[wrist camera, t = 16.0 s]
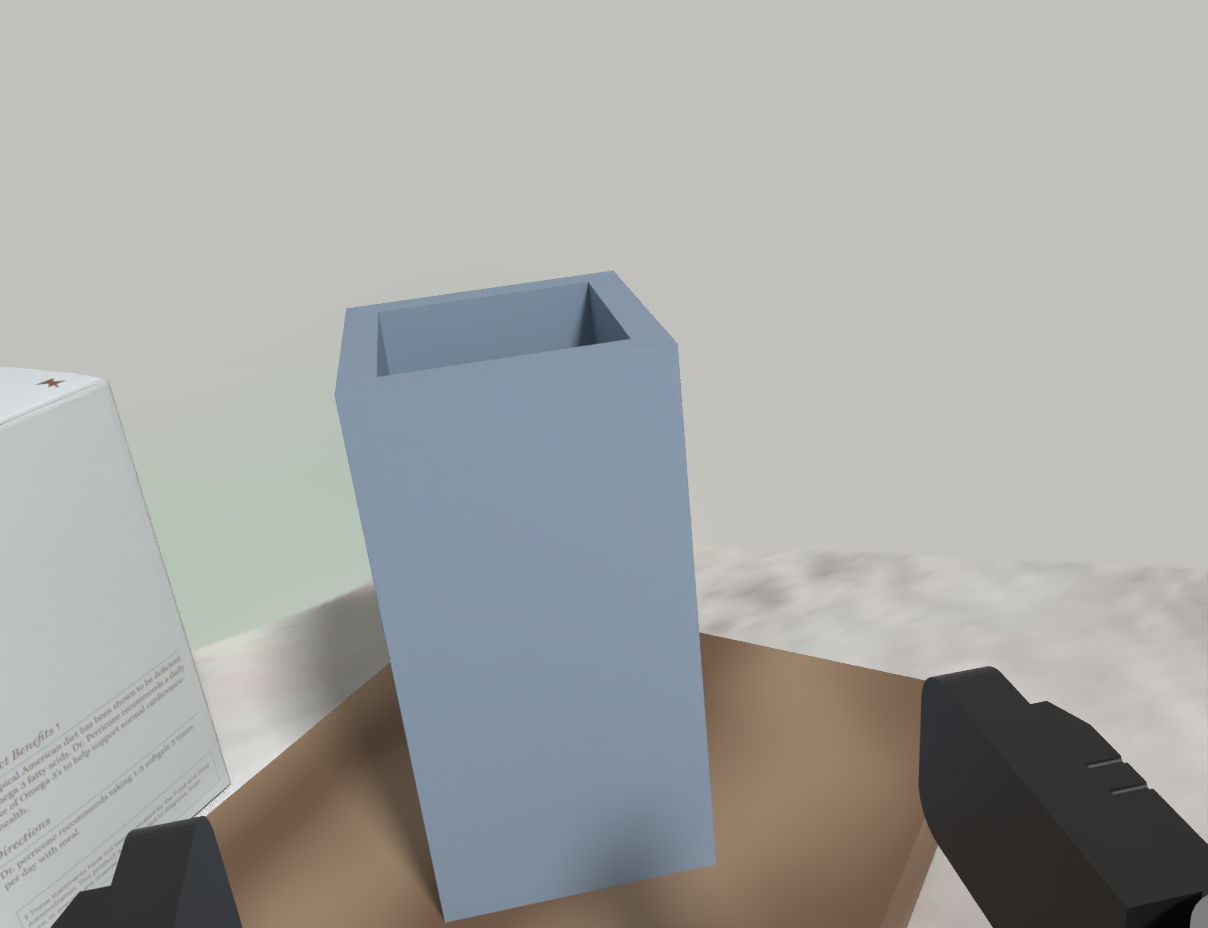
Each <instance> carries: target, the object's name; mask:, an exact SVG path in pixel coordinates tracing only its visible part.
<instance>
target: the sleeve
mask: <svg viewBox="0 0 1208 928" xmlns="http://www.w3.org/2000/svg"><path fill="white" fill-rule="evenodd" d="M678 356H679V355H678V344H677V343H676V341H675V340H674V339H673V338H672V337H671V336H670V335H669V333H668V332H667V331H666V330H665V329H664V328H663V327H662V326H661V324H660V323H659V322H658V321H657V320H656V319H655V318H654V316H653V315H652V314H651V313H650V312H649V311H648V310H647V308H646V307H645V306H644V305H643V304H642V303H641V302H640V300H639V299H638V298H637V297H636V296H635V295H634V294H633V293H632V291H631V290H630V289H629V288H628V287H627V286H626V285H625V283H624V282H623V281H622V280H621V279H620V278H619V277H618V275H617V274H616V273H615V272H614V271H609V272H601V273H594V274H587V275H580V276H572V277H565V278H558V279H551V280H544V281H537V282H530V283H523V284H516V285H509V286H502V287H495V288H488V289H481V290H474V291H467V292H459V293H453V294H445V295H438V296H432V297H425V298H417V299H410V300H403V301H396V302H389V303H382V304H375V305H368V306H361V307H354V308H347V309H346V315H345V323H344V330H343V338H342V345H341V352H340V360H339V368H338V376H337V383H336V390H335V400H336V405H337V409H338V414H339V419H340V424H341V428H342V433H343V438H344V443H345V448H346V452H347V457H348V461H349V467H350V471H351V476H352V481H353V486H354V490H355V495H356V500H357V505H358V509H359V514H360V519H361V524H362V528H363V534H364V538H365V542H366V548H367V553H368V557H369V562H370V566H371V571H372V576H373V581H374V586H375V591H376V596H377V600H378V605H379V610H380V615H381V619H382V624H383V629H384V634H385V639H386V643H387V648H388V653H389V658H390V662H391V667H392V672H393V677H394V681H395V686H396V691H397V696H398V701H399V705H400V710H401V715H402V720H403V724H404V729H405V734H406V739H407V744H408V748H409V753H410V758H411V763H412V767H413V772H414V777H415V782H416V787H417V791H418V796H419V801H420V806H421V810H422V815H423V820H424V825H425V829H426V834H427V839H428V844H429V849H430V853H431V858H432V863H433V868H434V872H435V877H436V882H437V887H438V892H439V896H440V901H441V906H442V911H443V915H444V920H445V923H446V922H451V921H455V920H460V919H464V918H469V917H474V916H478V915H483V914H488V913H492V912H497V911H501V910H506V909H511V908H515V907H520V906H525V905H529V904H534V903H538V902H543V901H548V900H552V899H557V898H562V897H566V896H571V895H576V894H580V893H585V892H589V891H594V890H599V889H603V888H608V887H613V886H617V885H622V884H626V883H631V882H636V881H640V880H645V879H650V878H654V877H659V876H663V875H668V874H673V873H677V872H682V871H687V870H691V869H696V868H701V867H705V866H710V865H714V864H716V853H715V839H714V826H713V813H712V799H711V786H710V772H709V759H708V745H707V732H706V718H705V705H704V692H703V678H702V665H701V651H700V638H699V624H698V611H697V597H696V584H695V571H694V557H693V544H692V530H691V517H690V504H689V490H688V477H687V463H686V450H685V436H684V424H683V409H682V396H681V383H680V369H679V357H678Z"/></svg>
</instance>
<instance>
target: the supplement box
mask: <svg viewBox="0 0 1208 928" xmlns="http://www.w3.org/2000/svg"><path fill="white" fill-rule="evenodd" d="M230 782H231V781H230V778H229V775H228V772H227V768H226V765H225V762H224V759H223V755H222V752H221V749H220V745H219V742H218V739H217V735H216V732H215V729H214V726H213V722H212V719H211V716H210V713H209V709H208V706H207V703H206V700H205V696H204V693H203V690H202V686H201V683H200V680H199V676H198V673H197V670H196V667H195V663H194V660H193V657H192V654H191V650H190V647H189V644H188V640H187V637H186V634H185V630H184V627H183V624H182V620H181V617H180V614H179V611H178V607H177V604H176V601H175V598H174V594H173V591H172V588H171V584H170V581H169V577H168V574H167V571H166V568H165V565H164V561H163V558H162V555H161V552H160V548H159V546H158V542H157V539H156V535H155V532H154V529H153V525H152V522H151V519H150V515H149V512H148V509H147V506H146V502H145V499H144V496H143V492H142V490H141V486H140V483H139V479H138V475H137V472H136V469H135V465H134V462H133V459H132V456H131V453H130V450H129V447H128V444H127V440H126V436H125V433H124V430H123V427H122V423H121V420H120V416H119V413H118V410H117V406H116V403H115V400H114V396H113V393H112V390H111V387H110V384H109V382H108V381H107V380H104V379H100V378H96V377H92V376H86V375H80V374H73V373H65V372H57V371H46V370H33V369H22V368H9V367H0V928H50V927H51V926H52V925H53V924H54V922H55V921H56V920H57V919H58V917H59V916H60V915H61V914H62V913H63V911H64V910H65V909H66V908H67V906H68V905H69V904H70V903H71V901H72V900H73V899H74V898H75V897H76V895H77V894H78V893H79V892H80V891H85V890H90V889H96V888H101V887H106V886H111V883H112V879H113V876H114V873H115V870H116V866H117V863H118V860H119V857H120V853H121V850H122V847H123V844H124V841H125V838H126V836H127V834H128V833H129V832H130V831H131V830H133V829H138V828H144V827H149V826H154V825H159V824H164V823H169V822H175V821H180V820H185V819H190V818H192V817H193V816H194V815H195V814H196V813H198V812H199V811H200V810H201V809H202V808H203V807H204V806H205V805H207V804H208V803H209V802H210V801H211V800H212V799H213V798H214V797H216V796H217V795H218V794H219V793H220V792H221V791H223V790H224V789H225V788H226V787H227V786H228V785H229V784H230Z"/></svg>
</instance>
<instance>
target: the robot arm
mask: <svg viewBox="0 0 1208 928" xmlns="http://www.w3.org/2000/svg"><path fill="white" fill-rule="evenodd" d="M919 795H920V801H921V805H922V809H923V813H924V816H925V819H926V822H927V824H928V827H929V829H930V831H931V833H932V835H933V837H934V839H935V841H936V842H937V844H938V845H939V847H940V848H941V850H942V851H943V853H944V854H945V856H946V857H947V859H948V860H949V862H950V863H951V865H952V866H953V868H954V869H955V871H956V872H957V874H958V876H959V877H960V879H961V880H962V882H963V883H964V885H965V886H966V888H967V889H968V891H969V892H970V894H971V895H972V897H973V898H974V900H975V901H976V903H977V904H978V906H979V907H980V909H981V910H982V912H983V913H984V915H985V916H986V918H987V919H988V921H989V922H990V924H991V925H992V927H993V928H1208V844H1207V843H1206V842H1205V841H1204V840H1203V839H1202V838H1201V837H1200V836H1199V835H1198V834H1197V833H1196V832H1195V831H1194V830H1193V829H1192V828H1191V827H1190V826H1189V825H1188V824H1187V823H1186V822H1185V821H1184V820H1183V819H1182V818H1181V817H1180V816H1179V815H1178V814H1177V813H1176V812H1175V810H1174V809H1173V808H1172V807H1171V806H1170V805H1169V804H1168V803H1167V802H1166V801H1165V800H1164V799H1163V798H1162V797H1161V796H1160V795H1159V794H1158V793H1157V792H1156V791H1155V790H1154V789H1149V788H1148V787H1147V782H1146V781H1145V780H1144V779H1143V778H1142V777H1141V776H1140V775H1139V774H1138V773H1137V772H1136V771H1135V770H1134V769H1133V768H1132V767H1131V766H1130V765H1129V764H1128V763H1123V762H1122V759H1121V755H1120V754H1119V753H1118V752H1117V751H1116V750H1115V749H1114V748H1113V747H1112V746H1111V745H1110V744H1109V743H1108V742H1107V741H1106V740H1105V739H1104V738H1103V737H1102V736H1101V735H1100V734H1099V733H1098V732H1097V731H1096V730H1095V729H1094V728H1093V727H1092V726H1091V725H1090V724H1088V723H1086V722H1084V721H1083V720H1081V719H1079V718H1077V717H1075V716H1073V715H1072V714H1070V713H1068V712H1066V711H1064V710H1063V709H1061V708H1059V707H1057V706H1055V705H1053V704H1052V703H1050V702H1048V701H1044V702H1039V703H1034V704H1030V703H1029V702H1028V701H1027V700H1026V699H1025V698H1024V697H1023V696H1022V695H1021V694H1020V693H1019V692H1018V691H1017V689H1016V688H1015V687H1014V686H1013V685H1012V684H1011V683H1010V682H1009V681H1008V680H1007V679H1006V678H1005V676H1004V675H1003V674H1002V673H1001V672H1000V671H999V670H997V669H996V668H994V667H991V666H987V667H982V668H976V669H971V670H966V671H961V672H956V673H951V674H945V675H940V676H935V677H930V678H928V679H927V680H926V681H925V682H924V685H923V688H922V695H921V722H920V752H919ZM50 928H242V924H241V920H240V916H239V913H238V910H237V906H236V903H235V900H234V897H233V893H232V890H231V887H230V883H229V880H228V877H227V873H226V870H225V867H224V863H223V860H222V857H221V854H220V850H219V847H218V844H217V840H216V837H215V834H214V831H213V828H212V825H211V823H210V821H209V820H208V819H207V818H206V817H205V816H200V817H195V818H190V819H185V820H180V821H175V822H169V823H164V824H159V825H154V826H149V827H144V828H138V829H133V830H131V831H130V832H129V833H128V834H127V836H126V838H125V841H124V844H123V847H122V850H121V853H120V857H119V860H118V863H117V866H116V870H115V873H114V876H113V879H112V883H111V886H106V887H101V888H96V889H90V890H85V891H80V892H79V893H78V894H77V895H76V897H75V898H74V899H73V900H72V901H71V903H70V904H69V905H68V906H67V908H66V909H65V910H64V911H63V913H62V914H61V915H60V916H59V917H58V919H57V920H56V921H55V922H54V924H53V925H52V926H51V927H50Z"/></svg>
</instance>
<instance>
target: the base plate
mask: <svg viewBox="0 0 1208 928" xmlns="http://www.w3.org/2000/svg"><path fill="white" fill-rule="evenodd" d="M699 638H700V651H701V665H702V678H703V692H704V705H705V718H706V732H707V745H708V759H709V772H710V786H711V799H712V813H713V826H714V839H715V853H716V864H714V865H710V866H705V867H701V868H696V869H691V870H687V871H682V872H677V873H673V874H668V875H663V876H659V877H654V878H650V879H645V880H640V881H636V882H631V883H626V884H622V885H617V886H613V887H608V888H603V889H599V890H594V891H589V892H585V893H580V894H576V895H571V896H566V897H562V898H557V899H552V900H548V901H543V902H538V903H534V904H529V905H525V906H520V907H515V908H511V909H506V910H501V911H497V912H492V913H488V914H483V915H478V916H474V917H469V918H464V919H460V920H455V921H451V922H446V923H445V920H444V915H443V911H442V906H441V901H440V896H439V892H438V887H437V882H436V877H435V872H434V868H433V863H432V858H431V853H430V849H429V844H428V839H427V834H426V829H425V825H424V820H423V815H422V810H421V806H420V801H419V796H418V791H417V787H416V782H415V777H414V772H413V767H412V763H411V758H410V753H409V748H408V744H407V739H406V734H405V729H404V724H403V720H402V715H401V710H400V705H399V701H398V696H397V691H396V686H395V681H394V677H393V672H392V667H391V663H390V664H388V665H387V666H386V667H385V668H384V669H382V670H381V671H380V672H379V673H378V674H376V675H375V676H374V677H373V678H372V679H370V680H369V681H368V682H367V683H366V684H364V685H363V686H362V687H361V688H360V689H358V690H357V691H356V692H355V693H354V694H352V695H351V696H350V697H349V698H348V699H346V700H345V701H344V702H343V703H342V704H340V705H339V706H338V707H337V708H336V709H334V710H333V711H332V712H331V713H330V714H328V715H327V716H326V717H325V718H324V719H322V720H321V721H320V722H319V723H318V724H316V725H315V726H314V727H313V728H312V729H310V730H309V731H308V732H307V733H306V734H304V735H303V736H302V737H301V738H300V739H298V740H297V741H296V742H295V743H294V744H292V745H291V746H290V747H289V748H288V749H286V750H285V751H284V752H283V753H281V754H280V755H279V756H278V757H277V758H275V759H274V760H273V761H272V762H271V763H269V764H268V765H267V766H266V767H265V768H263V769H262V770H261V771H260V772H259V773H257V774H256V775H255V776H254V777H253V778H251V779H250V780H249V781H248V782H247V783H245V784H244V785H243V786H242V787H241V788H239V789H238V790H237V791H236V792H235V793H233V794H232V795H231V796H230V797H229V798H227V799H226V800H225V801H224V802H223V803H221V804H220V805H219V806H218V807H217V808H215V809H214V810H213V811H212V812H211V813H209V814H208V815H207V816H206V818H207V819H208V820H209V821H210V823H211V825H212V828H213V831H214V834H215V837H216V840H217V844H218V847H219V850H220V854H221V857H222V860H223V863H224V867H225V870H226V873H227V877H228V880H229V883H230V887H231V890H232V893H233V897H234V900H235V903H236V906H237V910H238V913H239V916H240V920H241V924H242V928H907V925H908V922H909V920H910V917H911V915H912V912H913V909H914V907H915V904H916V901H917V899H918V896H919V893H920V891H921V888H922V885H923V883H924V880H925V877H926V875H927V872H928V870H929V867H930V864H931V862H932V859H933V856H934V854H935V851H936V848H937V846H938V844H937V842H936V841H935V839H934V837H933V835H932V833H931V831H930V829H929V827H928V824H927V822H926V819H925V816H924V813H923V809H922V805H921V801H920V795H919V752H920V722H921V695H922V688H923V685H924V682H925V680H920V679H915V678H911V677H906V676H901V675H896V674H892V673H887V672H882V671H878V670H873V669H868V668H864V667H859V666H854V665H849V664H845V663H840V662H835V661H831V660H826V659H821V658H817V657H812V656H807V655H803V654H798V653H793V652H788V651H784V650H779V649H774V648H770V647H765V646H760V645H756V644H751V643H746V642H741V641H737V640H732V639H727V638H723V637H718V636H713V635H709V634H704V633H699Z"/></svg>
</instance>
